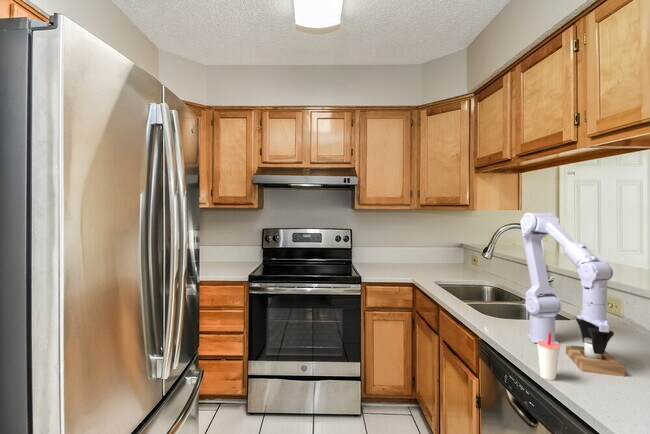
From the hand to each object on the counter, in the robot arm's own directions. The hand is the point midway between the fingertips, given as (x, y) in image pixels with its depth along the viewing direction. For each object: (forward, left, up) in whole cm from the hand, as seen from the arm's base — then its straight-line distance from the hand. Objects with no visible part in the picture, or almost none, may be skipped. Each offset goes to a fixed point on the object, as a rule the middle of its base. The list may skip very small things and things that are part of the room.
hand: (593, 348), depth 104 cm
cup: (+14, -15, -5) cm, 21 cm away
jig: (0, 0, -5) cm, 5 cm away
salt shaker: (0, 0, -5) cm, 5 cm away
